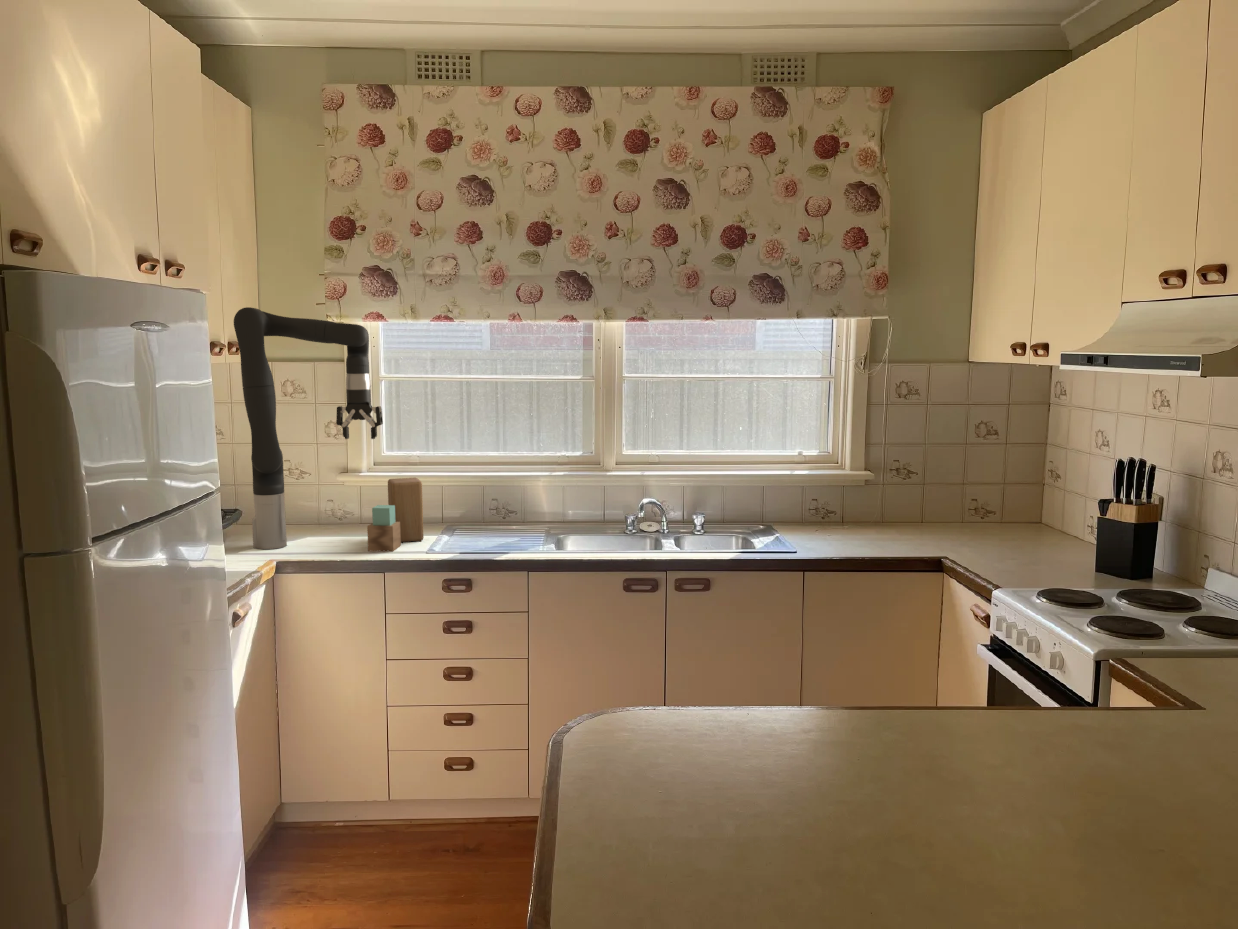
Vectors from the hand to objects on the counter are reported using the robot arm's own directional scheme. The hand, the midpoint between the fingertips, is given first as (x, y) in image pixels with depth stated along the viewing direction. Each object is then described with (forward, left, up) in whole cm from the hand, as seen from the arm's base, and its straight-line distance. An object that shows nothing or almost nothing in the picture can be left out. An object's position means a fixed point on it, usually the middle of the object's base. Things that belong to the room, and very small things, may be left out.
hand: (360, 438), depth 295 cm
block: (+12, +7, -34) cm, 37 cm away
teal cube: (+9, -7, -26) cm, 29 cm away
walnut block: (+9, -7, -34) cm, 36 cm away
